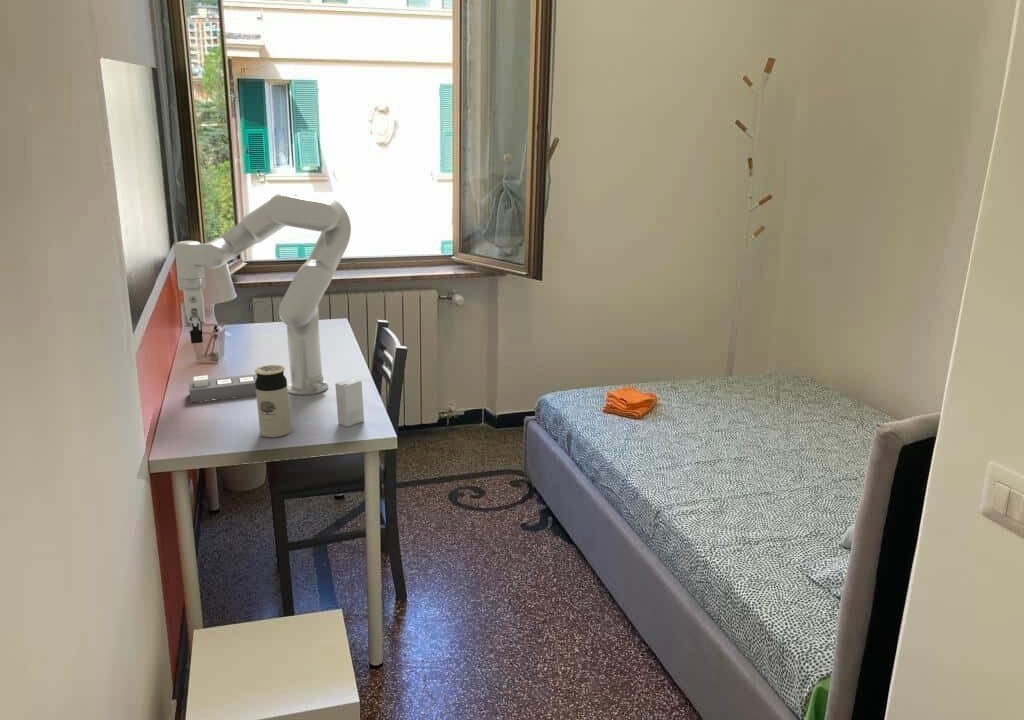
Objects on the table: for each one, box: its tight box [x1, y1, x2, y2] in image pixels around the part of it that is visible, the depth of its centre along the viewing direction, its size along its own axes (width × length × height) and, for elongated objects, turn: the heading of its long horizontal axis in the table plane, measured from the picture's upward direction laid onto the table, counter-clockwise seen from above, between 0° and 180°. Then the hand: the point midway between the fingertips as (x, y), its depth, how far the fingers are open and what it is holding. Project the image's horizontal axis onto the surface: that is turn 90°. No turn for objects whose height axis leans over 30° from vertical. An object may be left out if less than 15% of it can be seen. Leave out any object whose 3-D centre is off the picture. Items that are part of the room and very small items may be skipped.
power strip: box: [188, 373, 257, 403], centre depth 238 cm, size 21×9×4 cm, turn 112°
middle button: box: [217, 379, 232, 385], centre depth 238 cm, size 4×4×3 cm
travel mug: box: [254, 364, 292, 438], centre depth 206 cm, size 8×8×18 cm
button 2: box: [239, 377, 254, 382], centre depth 240 cm, size 4×4×3 cm
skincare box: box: [335, 377, 365, 428], centre depth 214 cm, size 6×4×12 cm
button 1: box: [193, 374, 209, 388], centre depth 235 cm, size 4×4×3 cm
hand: (196, 338), depth 236 cm, fingers open, 9 cm apart
